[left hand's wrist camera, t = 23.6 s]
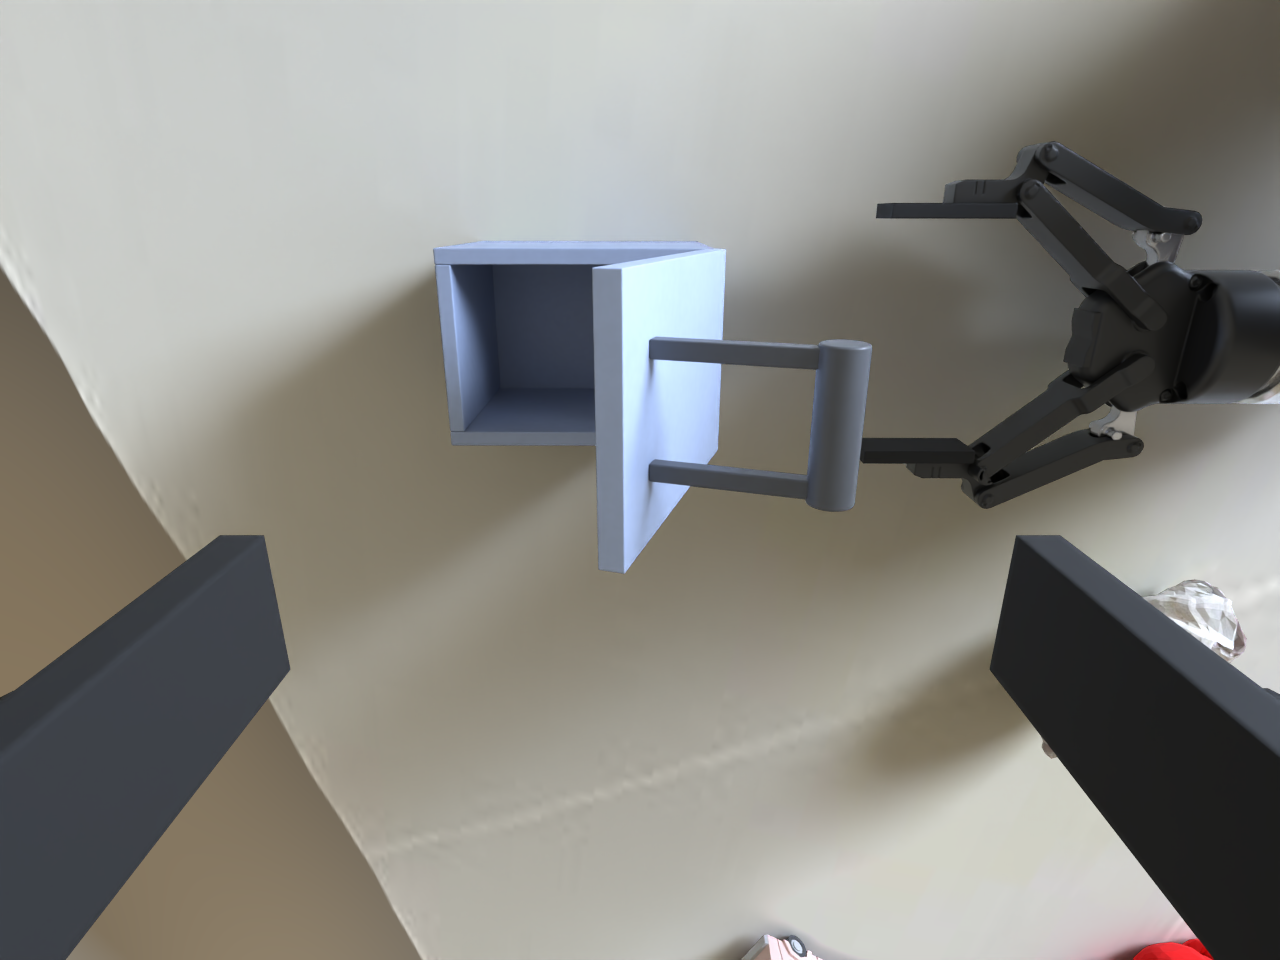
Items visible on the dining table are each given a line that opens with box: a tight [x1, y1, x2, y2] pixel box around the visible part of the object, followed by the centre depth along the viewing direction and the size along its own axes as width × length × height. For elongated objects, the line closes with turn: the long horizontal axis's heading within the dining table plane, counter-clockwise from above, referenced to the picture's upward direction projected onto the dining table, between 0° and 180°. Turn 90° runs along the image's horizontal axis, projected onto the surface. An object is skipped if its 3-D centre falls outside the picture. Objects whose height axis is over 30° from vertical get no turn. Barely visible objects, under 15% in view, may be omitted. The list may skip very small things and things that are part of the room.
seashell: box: [1041, 580, 1247, 758], centre depth 51 cm, size 10×15×10 cm
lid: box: [592, 249, 872, 574], centre depth 29 cm, size 15×10×8 cm
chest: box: [433, 241, 714, 446], centre depth 42 cm, size 14×10×11 cm
